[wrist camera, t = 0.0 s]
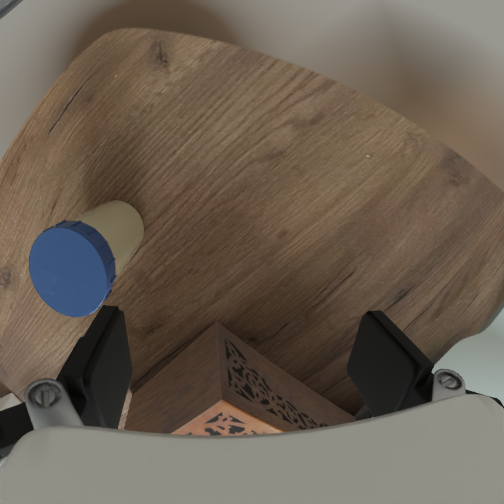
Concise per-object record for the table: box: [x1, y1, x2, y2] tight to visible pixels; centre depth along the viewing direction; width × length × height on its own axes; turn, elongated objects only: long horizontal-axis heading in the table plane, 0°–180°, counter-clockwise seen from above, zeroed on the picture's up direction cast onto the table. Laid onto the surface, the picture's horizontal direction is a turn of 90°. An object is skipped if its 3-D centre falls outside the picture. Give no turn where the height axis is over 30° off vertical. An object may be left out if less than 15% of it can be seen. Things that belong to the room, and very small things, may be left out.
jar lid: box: [29, 220, 117, 317], centre depth 14 cm, size 5×5×2 cm
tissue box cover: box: [124, 321, 356, 436], centre depth 27 cm, size 26×14×10 cm, turn 43°
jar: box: [69, 200, 144, 282], centre depth 18 cm, size 5×5×9 cm
